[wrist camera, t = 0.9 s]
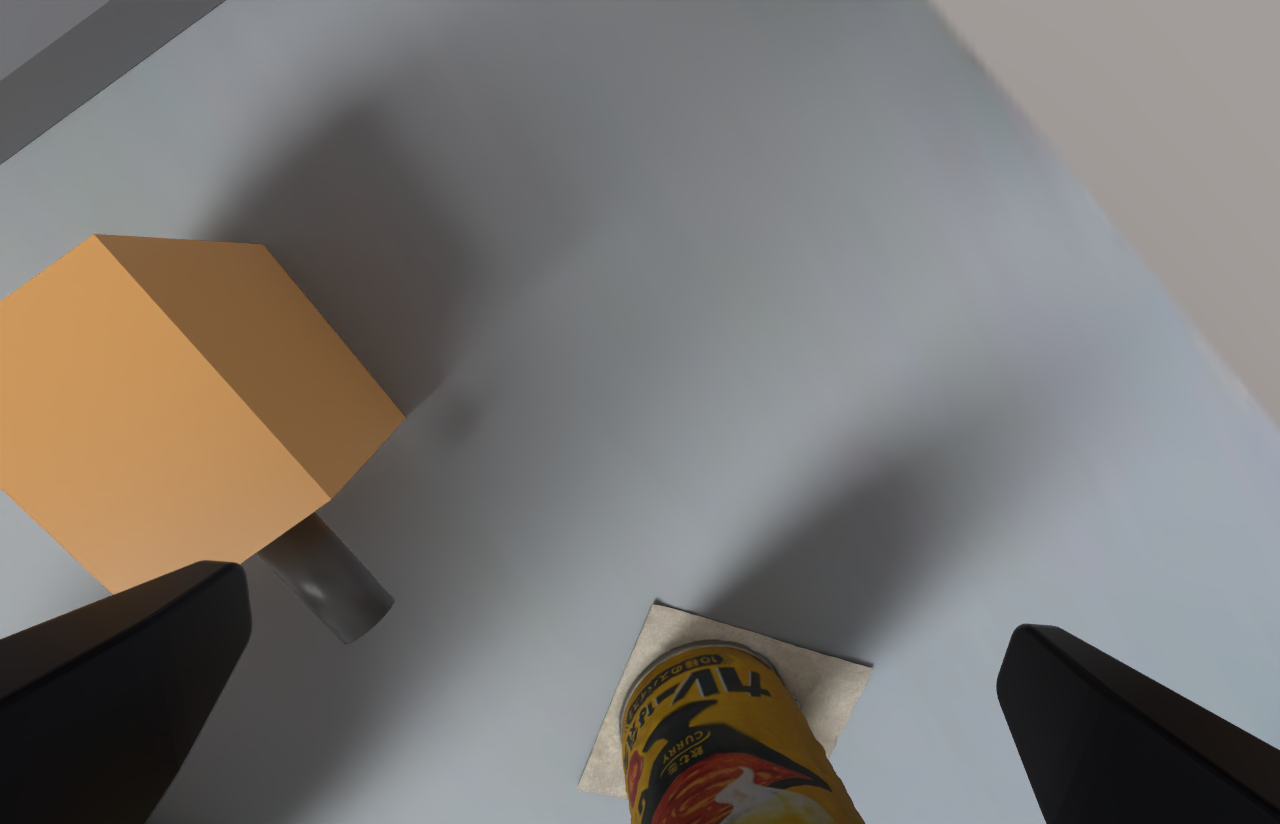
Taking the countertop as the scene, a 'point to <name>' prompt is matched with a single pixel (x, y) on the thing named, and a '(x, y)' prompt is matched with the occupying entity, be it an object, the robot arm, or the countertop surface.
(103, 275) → the plug
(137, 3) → the socket plate
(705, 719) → the condiment
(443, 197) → the countertop surface
